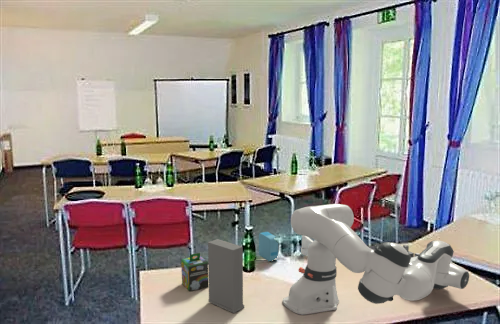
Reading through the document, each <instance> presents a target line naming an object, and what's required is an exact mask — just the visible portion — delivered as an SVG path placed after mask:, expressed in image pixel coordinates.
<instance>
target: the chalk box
mask: <svg viewBox="0 0 500 324" xmlns="http://www.w3.org/2000/svg"><path fill="white" fill-rule="evenodd" d="M180 263H181V264H180V265H181V267H180V268H181V284H182V285H183V286H184V287H185V288H186V289H187V290H188V291H189V292H191V291H192V292H193V291H197V290H201V289H206V288H209V270H208V260H206V259H205V258H204V257H203V256H202V255H201V252H196V253H191V254H190V255H189V257H186V258H181V260H180Z"/></svg>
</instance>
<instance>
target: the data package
mask: <svg viewBox="0 0 500 324" xmlns="http://www.w3.org/2000/svg"><path fill="white" fill-rule="evenodd" d="M275 237H277V236H276V235H274V234H272V233H271V232H269V231H264V232H259V234H258V255H259V256H260V257H261V258H263V259H264V260H266V261H267V260H268V261H267V262H269V261H271V262H273V261H272V260H274V259H275V258H277V256H278V257H279V242H278V243H277V242H276V241H275V240H274V238H275Z"/></svg>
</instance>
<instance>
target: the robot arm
mask: <svg viewBox="0 0 500 324" xmlns="http://www.w3.org/2000/svg"><path fill="white" fill-rule="evenodd" d="M353 224H354V212H353V210H352V208H351V207H350V206H349V205H347V204H342V203H341V204H340V203H330V204H320V205H310V206H309V205H308V206H305V207H301V208H298V209H295V210H294V211H293V212H292V214H291V216H290V225H291V226H290V227H291V228H292V230H293V231H294V232H295V233H296V234H297V235H299V236H302V235H303V236H307V237H309V238H310V239H311V240H313V242H312V243H311V244H310V245H309V247H308V256H306V257H307V260H306V261H307V262H306V263H307V264H306V266H305V268H303V267H301V266H300V267H299V268H298V272H299V273H301V274H303V275H302V276H301V277H300V278H299V279H297V281H296V282H294V284H292V285H291V286H290V288H289V291H288V296H286V297H283V299H282V305H284V306H285V307H286V308H287V309H288V310H290V311H291V312H293V313H295V314H298V315H300V316H301V315H303V316H304V315H309V314H316V313H322V312H328V311H330V312H331V311H336V310H337V309H338V307H337V305H338V304H339V303H340V300H339V296H338V291H337V283H336V277H337V266H336V264H337V263H336V261H338V262H339V263H340V264H341V265H342V266H344V267H345V268H346V269H347V270H349V271H350V272H352V273H355V274H361V273H363V275H362V276H361V278H360V279H359V281H358V285H357V290H358V292H359V294H360V296H362V297H363V298H364V299H365V300H366V301H368V302H369V303H372V304H375V305H378V304H384V303H386V302H392V301H393V300H394V296H399V297H400V298H402V299H404V300H406V301H410V302H411V301H419V300H422V299H424V298H426V297H428V296H429V295H430V294H431V293H432V291H433V289H435V290H443V289H445V288H448V287H452V288H455V289H459V290H463V289H465V288H466V287H467V285H468V284H469V281H470V272H469V270H467V269H465V268H464V267H462V266H459V265H457V264H455V263H452V259H453V256H454V254H455V253H454V252H455V250H454V249H453V247H452V246H451V244H449V243H447V242H446V241H443V240H436V239H435V240H432V241H429V242H428V243H427V244H426V248H425V249H423V250H422V251H421V252H420V253H419V252H415V253H414V257H412V258H411V256H410V254H409V252H408V251H409V250H408V251H407V250H406V249H405V248H404V247H403V245H400V244H399V243H395V242H394V241H393V242H392V241H389V242H388V241H387V242H386V241H385V242H382V243H376V244H374V245H373V246H374V248H375V249H376V250H373V249H371V248H369V247H370V246H368V245H367V244H366V243H365V242H364V241H363V240H362V239H361V237H360V236H359V235H358V234H357V233H356V232H355V231H354V230H353V229H352V226H353Z"/></svg>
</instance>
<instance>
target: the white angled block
mask: <svg viewBox="0 0 500 324" xmlns="http://www.w3.org/2000/svg"><path fill="white" fill-rule="evenodd" d="M313 241H314V239H312V238H310V237H307V236H303V235H301V248H300V249H301V253H302V254H303V255H302V256H305V257H307V256H308V247H309V245H310V244H311V243H312V242H313Z"/></svg>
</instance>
